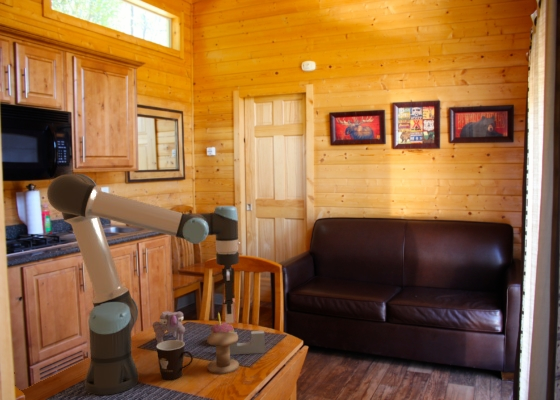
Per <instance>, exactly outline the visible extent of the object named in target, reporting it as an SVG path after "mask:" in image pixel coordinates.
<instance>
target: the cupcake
mask: <svg viewBox="0 0 560 400" xmlns="http://www.w3.org/2000/svg"><path fill="white" fill-rule="evenodd" d="M217 318H218V319H217V320H218V323H216V324H214V325H212V327H211V328H210V335H211V334H214V333H219V332H235V329H234V326H233V325H232V324H231V323H228V324H225V322H221V315H220V312H219V311H218V312H217Z"/></svg>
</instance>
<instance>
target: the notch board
mask: <svg viewBox="0 0 560 400" xmlns="http://www.w3.org/2000/svg"><path fill="white" fill-rule="evenodd" d="M231 333H235V334H237V335H238V331H234V332H231ZM250 334H251V338H250V340H251V342H238V341H237V342H236V343H234V344H232V345H230V356H231V355H243V354H245V355H246V354H248V355H249V354H252V355H253V354H266V353H265V352H266V350H265V349H266V348H265V347H266V346H265V345H266V344H265V341H266V340H265V331H264V330H253V331H252V330H251V332H250Z"/></svg>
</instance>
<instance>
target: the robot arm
mask: <svg viewBox="0 0 560 400" xmlns="http://www.w3.org/2000/svg"><path fill="white" fill-rule="evenodd" d="M46 195H47V200H48V203H49V204H50V205H51V207H52V208H53V209H54V210H55V211H56V210H57V211H58V212H60V213H61V215H62V217H63V221H64V223H65V222H66V223H68V224H70V225H71V228H72V231H73V235H74V237H75V239H76V242H77V245H78V246H77V247H78V248H79V251H80V254H81V257H82V260H83V262H84V265H85V268H86V272H87V274H88V277H89V279H90V283H91V286H92V288H93V292H94V295H95V296H94V297H93V300H92V302H91V303H92V304H93V308H92V309H91V310H90V312H89V316H88V328H89V351H90V353H89V354H90V364H89V367H88V370H87V374H86V377H85V384H84V385H85V390H86V391H87V392H88V393H90V394H93V395H98V396H99V395H100V396H101V395H102V396H103V395H104V396H107V395H114V394H119V393H122V392H125V391H128V390H130V389H131V388H134V387H135V386H136V385H137V384H138V383H139V380H140V379H139V371H138V369H137V366H136V363H135V361H134V359H133V355H132V331H133V329H134V327H135V324H136V322H137V320H138V317H139V309H138V305H137V302H136V301H135V299H134V298H133V297H132V296H131V293H130V290H129V288H128V287H126V286H124V285H123V284H122V281H121V278H120V276H119V272H118V269H117V267H116V263H115V261H114V258H113V254H112V251H111V248H110V246H109V243H108V240H107V237H106V233H105V231H104V228H103V225H102V223H101V219H100V218H102V219H105V220H109V221H113V222H117V223H121V224H124V225H128V226H132V227H136V228H139V229H140V228H141V229H145V230H148V231H152V232H156V233H161V234H164V235H168V236H172V237H176V238H179V239H183V240H186V241H187V242H188V243H191V244H195V245H196V244H200V243H203V242H204V241H205V240H206V239H207V237H208V236H215V251H216V254H215V257H216V260H215V262H216V264H217V265H218V266H224V267H223V268H222V269H221V275H222V282H223V284H224V299H225V303H224V302H222V305H224V317H225V318H224V320H225V321H224V323H228V324H235V323H234V318H233V298H235V299H236V297H235V295H234V294H233V283H234V275H235V269H234V267H232V266H234V265H237V264H239V263H240V256H239V254H240V253H239V252H238V251H239V245H240V244H241V242H240V241H239V218H238V209H237V207H236V206H234V205H220V206H219V205H218V206H216V207H214V212H202V213H201V212H200V213H199V212H198V213H197V212H196V213H193V212H192V213H191V212H188V213H182V212H179V211H176V210H172V209H169V208H165V207H162V206H158V205H154V204H150V203H146V202H143V201H139V200H135V199H132V198H128V197H125V196H120V195H116V194H113V193H109V192H106V191H102V190H100V188H99V187H98V186H97V184H96V182H95V181H94V180H93V179H92V178H91V177H89V176H88V175H85V174H82V173H72V174H61V175H60V176H57V177H55V178H54V179H53V180H51V182H50V184H49V185H48V188H47V192H46Z"/></svg>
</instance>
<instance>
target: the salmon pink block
mask: <svg viewBox="0 0 560 400" xmlns="http://www.w3.org/2000/svg"><path fill="white" fill-rule="evenodd" d="M223 301H224V302H223V303H225V298H224V299H223ZM236 313H237V312H236V297H235V298H233V318H234V323H233V324H236V323H237V318H236ZM224 323H225V322H224ZM225 324H229V323H225Z"/></svg>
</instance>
